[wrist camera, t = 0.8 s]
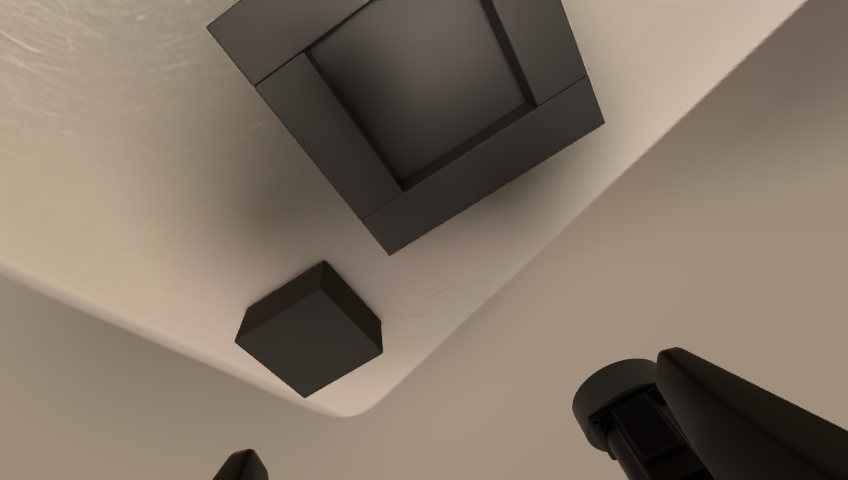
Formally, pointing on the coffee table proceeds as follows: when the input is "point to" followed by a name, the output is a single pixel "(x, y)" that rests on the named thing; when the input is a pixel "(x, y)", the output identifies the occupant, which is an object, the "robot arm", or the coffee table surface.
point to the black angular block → (311, 331)
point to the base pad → (415, 96)
